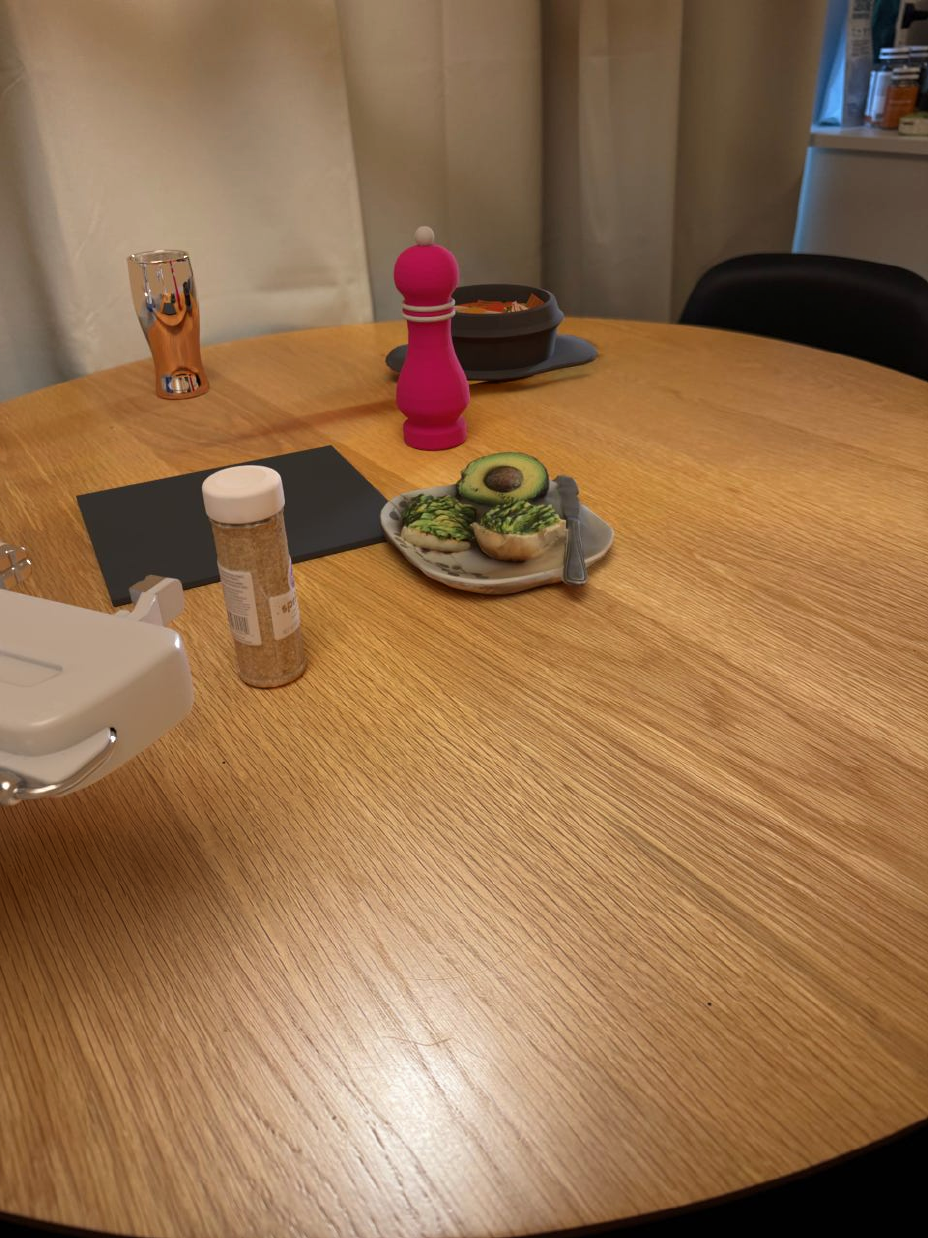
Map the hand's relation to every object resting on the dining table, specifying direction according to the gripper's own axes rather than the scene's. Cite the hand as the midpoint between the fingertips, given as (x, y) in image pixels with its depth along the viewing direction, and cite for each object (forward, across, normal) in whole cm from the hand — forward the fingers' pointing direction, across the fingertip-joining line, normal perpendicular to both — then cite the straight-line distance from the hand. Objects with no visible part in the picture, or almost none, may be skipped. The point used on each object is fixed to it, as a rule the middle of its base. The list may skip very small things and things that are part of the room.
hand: (92, 572), depth 46 cm
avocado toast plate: (+34, -6, +13) cm, 37 cm away
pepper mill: (+53, +8, +14) cm, 55 cm away
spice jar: (+12, 0, +14) cm, 18 cm away
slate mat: (+31, +16, +13) cm, 37 cm away
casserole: (+75, +12, +13) cm, 77 cm away
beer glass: (+57, +42, +13) cm, 72 cm away
